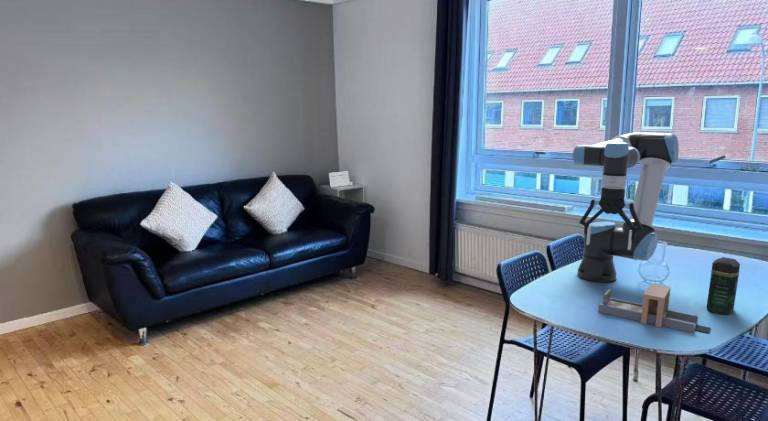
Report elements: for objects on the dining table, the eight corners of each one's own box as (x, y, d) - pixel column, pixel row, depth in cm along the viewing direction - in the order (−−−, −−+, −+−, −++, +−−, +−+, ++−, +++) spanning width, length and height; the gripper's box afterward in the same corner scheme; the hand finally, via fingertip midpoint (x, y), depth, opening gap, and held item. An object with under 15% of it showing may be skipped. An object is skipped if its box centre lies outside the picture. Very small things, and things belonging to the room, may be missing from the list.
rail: (598, 311, 181) (598, 304, 180) (605, 303, 188) (605, 296, 187) (693, 332, 164) (694, 324, 163) (697, 323, 171) (698, 315, 170)
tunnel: (640, 323, 171) (643, 294, 169) (648, 311, 181) (651, 283, 179) (660, 327, 168) (664, 297, 166) (667, 315, 178) (670, 287, 175)
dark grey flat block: (694, 330, 166) (694, 329, 165) (696, 325, 169) (696, 324, 169) (709, 333, 163) (709, 332, 163) (710, 328, 167) (710, 327, 167)
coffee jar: (730, 317, 175) (737, 264, 172) (704, 311, 181) (710, 260, 177) (735, 308, 182) (742, 258, 179) (710, 303, 188) (716, 254, 184)
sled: (602, 308, 181) (603, 291, 180) (607, 302, 186) (608, 286, 185) (663, 321, 170) (664, 303, 169) (666, 315, 175) (668, 297, 174)
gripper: (573, 186, 183) (569, 244, 187) (652, 191, 170) (646, 253, 174) (577, 183, 189) (573, 239, 193) (654, 188, 176) (648, 248, 180)
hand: (608, 246), depth 184 cm, fingers open, 13 cm apart
